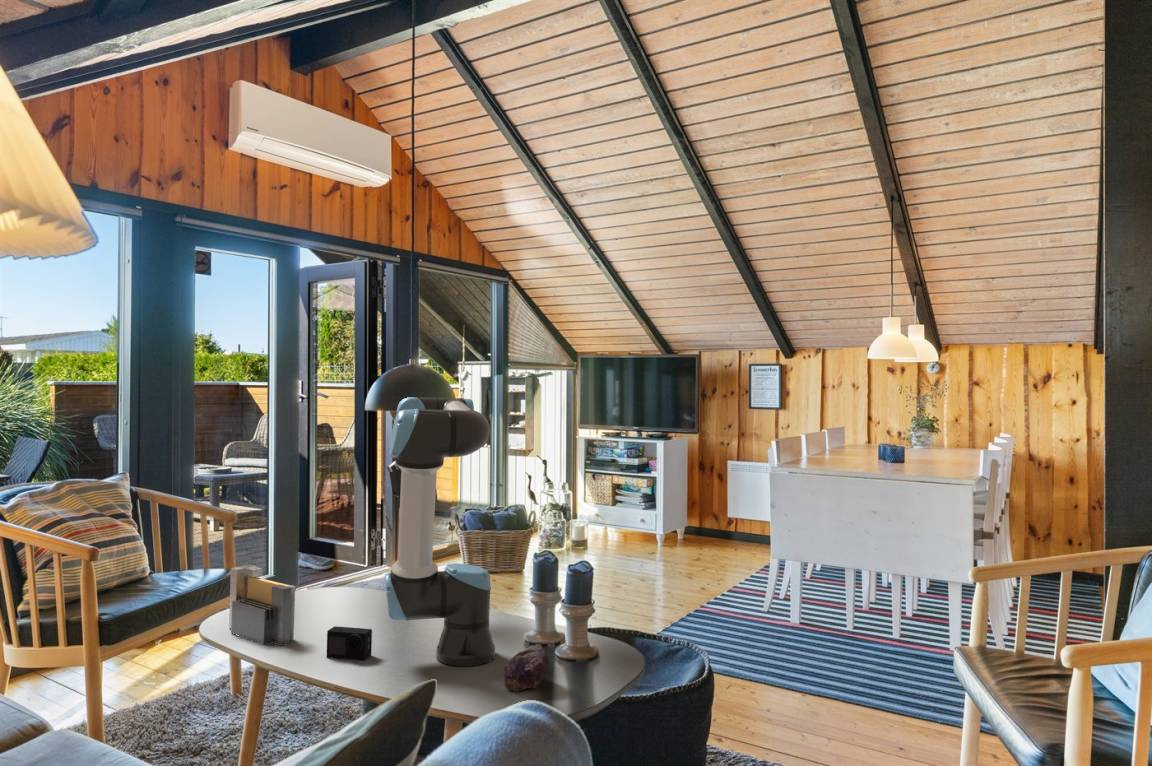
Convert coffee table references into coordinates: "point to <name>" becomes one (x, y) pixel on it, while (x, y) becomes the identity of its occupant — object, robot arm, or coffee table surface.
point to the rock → (526, 669)
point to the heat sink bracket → (258, 609)
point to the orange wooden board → (269, 595)
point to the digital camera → (349, 643)
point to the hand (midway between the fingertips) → (404, 518)
